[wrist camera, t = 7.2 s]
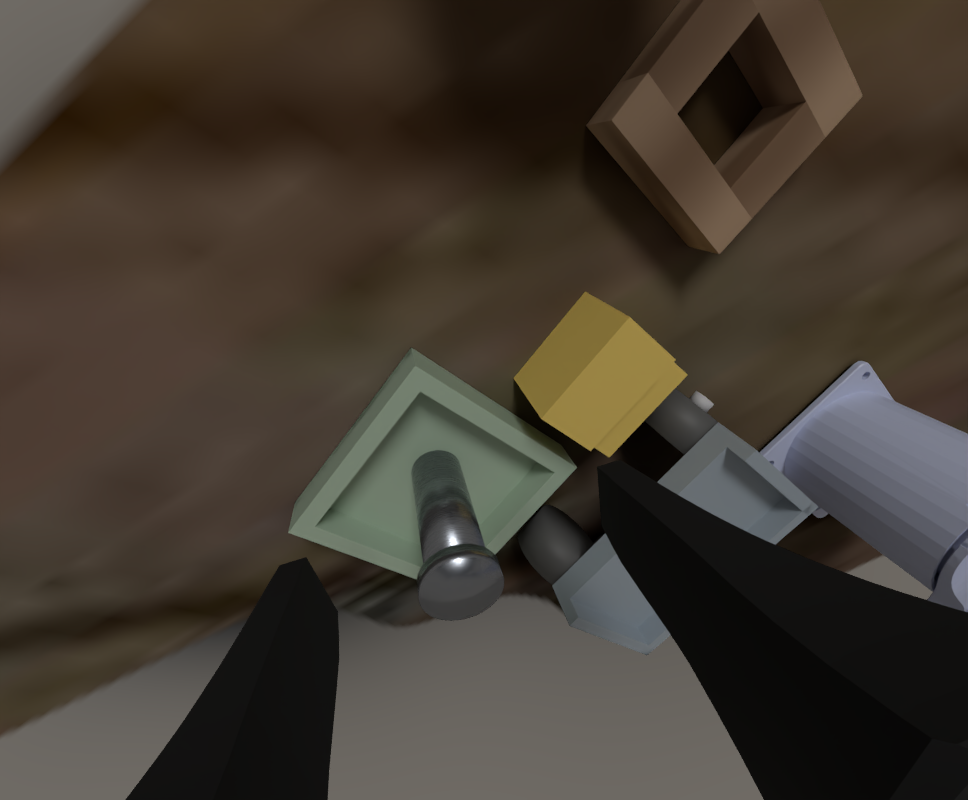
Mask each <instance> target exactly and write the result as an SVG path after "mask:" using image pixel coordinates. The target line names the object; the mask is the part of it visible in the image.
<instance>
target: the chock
mask: <svg viewBox="0 0 968 800" xmlns="http://www.w3.org/2000/svg"><path fill="white" fill-rule="evenodd" d="M675 360H676V359H674V358H673V357H672V356H671V355H670V354H669V353H668V352H667V351H666V350H665V349H664V348H663V347H662V346H660V345H659V344H658V343H657V342H656V341H655V340H654V339H653V338H652V337H651V336H650V335H649V334H647V333H646V332H645V331H644V330H643V329H642V328H641V327H640V326H639V325H638V324H637V323H636V322H634V321H633V320H632V319H631V318H630V317H629V316H627V315H625V314H623V313H622V312H620V311H618V310H616V309H615V308H613V307H611V306H609V305H608V304H606V303H604V302H602V301H601V300H599V299H597V298H595V297H594V296H592V295H590V294H588V293H587V292H584V294H583V295H582V296H581V297H580V299H579V300H578V301H577V302H576V303H575V305H574V306H573V307H572V308H571V309H570V311H569V312H568V313H567V314H566V316H565V317H564V318H563V319H562V320H561V322H560V323H559V324H558V325H557V326H556V328H555V329H554V330H553V331H552V332H551V334H550V335H549V336H548V337H547V339H546V340H545V341H544V342H543V343H542V345H541V346H540V347H539V348H538V349H537V351H536V352H535V353H534V354H533V355H532V357H531V358H530V359H529V360H528V362H527V363H526V364H525V365H524V366H523V368H522V369H521V370H520V371H519V372H518V374H517V375H516V376H515V377H514V380H515V381H516V383H517V384H518V386H519V387H520V389H521V390H522V391H523V393H524V394H525V396H526V397H527V399H528V400H529V402H530V403H531V405H532V406H533V408H534V409H535V411H536V412H537V413H538V415H539V416H540V418H541V419H542V420H544V421H545V422H547V423H548V424H550V425H551V426H553V427H554V428H556V429H557V430H559V431H560V432H562V433H563V434H565V435H567V436H568V437H570V438H571V439H573V440H574V441H576V442H577V443H579V444H580V445H582V446H583V447H585V448H586V449H588V450H589V451H591V450H592V449H593V448H596V449H597V450H599V451H600V452H602V453H603V454H605V455H606V456H608V457H610V456H611V455H612V454H613V453H614V452H615V451H616V450H617V449H618V448H619V447H620V446H621V445H622V444H623V443H624V442H625V441H626V439H627V438H628V437H629V436H630V435H631V434H632V433H633V432H634V431H635V430H636V429H637V428H638V427H639V426H640V425H641V424H642V423H643V422H644V420H645V419H646V418H647V417H648V416H649V415H650V414H651V413H652V412H653V411H654V410H655V409H656V408H657V407H658V406H659V405H660V404H661V403H662V401H663V400H664V399H665V398H666V397H667V396H668V395H669V394H670V393H671V392H672V391H673V390H674V389H675V388H676V387H677V386H678V385H679V384H680V383H681V381H682V380H683V379H684V378H685V377H686V376H687V374H686V373H685V372H684V371H683V370H682V369H681V368H680V367H679V366H677V365H676V364H675V363H674V361H675Z"/></svg>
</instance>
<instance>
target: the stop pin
mask: <svg viewBox="0 0 968 800" xmlns="http://www.w3.org/2000/svg"><path fill="white" fill-rule="evenodd" d="M411 475H412V483H413V490H414V498H415V506H416V513H417V521H418V528H419V536H420V543H421V551H422V558H423V565H422V566H421V568H420V570H419V572H418V576H417V587H418V596H419V603H420V606H421V607H422V609H423V610H424V611H425V612H426V613H427V614H428V615H430V616H432V617H434V618H437V619H441V620H450V621H452V620H461V619H466V618H470V617H473V616H475V615H478V614H480V613H481V612H483V611H485V610H486V609H488V608H489V607H491V606H492V605H493V604H494V603H495V602H496V601H497V599H498V598H499V597H500V595H501V593H502V591H503V587H504V578H503V574H502V571H501V568H500V565H499V562H498V559H497V557H496V556H495V554H494V553H493V552H492V551H490V550H489V549H487V548H486V547H485V544H484V541H483V538H482V534H481V531H480V528H479V525H478V521H477V518H476V515H475V511H474V508H473V505H472V501H471V498H470V495H469V492H468V488H467V485H466V482H465V478H464V475H463V472H462V469H461V465H460V462H459V460H458V459H457V457H456V456H455V455H453V454H452V453H450V452H447V451H443V450H435V451H430V452H427V453H425V454H423V455H422V456H420V457H419V458H418V459H417V460H416V461H415V463H414V464H413V467H412V470H411Z"/></svg>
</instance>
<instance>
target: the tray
mask: <svg viewBox="0 0 968 800" xmlns="http://www.w3.org/2000/svg"><path fill="white" fill-rule="evenodd" d="M435 450H443V451H447V452H450V453H452V454H453V455H455V456H456V457H457V459H458V460H459V462H460V465H461V469H462V472H463V475H464V478H465V482H466V485H467V488H468V492H469V495H470V498H471V501H472V505H473V508H474V511H475V515H476V518H477V521H478V525H479V528H480V531H481V534H482V538H483V541H484V544H485V547H486V548H487V549H489V550H490V551H492V552H493V553H494V554H496V553H497V552H498V551H499V550H500V549H501V548H502V547H503V546H504V545H505V544H506V543H507V541H508V540H509V539H510V538H511V537H512V536H513V535H514V534H515V533H516V532H517V531H518V530H519V529H520V528H521V527H522V526H523V525H524V523H525V522H526V521H527V520H528V519H529V518H530V517H531V516H532V515H533V514H534V513H535V512H536V511H537V510H538V509H539V508H540V506H541V505H542V504H543V503H544V502H545V501H546V500H547V499H548V498H549V497H550V496H551V495H552V494H553V493H554V492H555V491H556V489H557V488H558V487H559V486H560V485H561V484H562V483H563V482H564V481H565V480H566V479H567V478H568V477H569V476H570V475H571V474H572V472H573V471H574V470H575V469H576V468H577V467H576V465H575V464H574V463H573V461H572V460H571V458H570V457H569V455H568V454H567V452H566V451H565V450H564V448H563V447H562V445H560V444H559V443H557V442H556V441H554V440H553V439H551V438H550V437H548V436H547V435H545V434H544V433H542V432H540V431H539V430H537V429H536V428H534V427H533V426H531V425H530V424H528V423H527V422H525V421H524V420H522V419H520V418H519V417H517V416H516V415H514V414H513V413H511V412H510V411H508V410H507V409H505V408H504V407H502V406H500V405H499V404H497V403H496V402H494V401H493V400H491V399H490V398H488V397H487V396H485V395H484V394H482V393H480V392H479V391H477V390H476V389H474V388H473V387H471V386H470V385H468V384H467V383H465V382H464V381H462V380H460V379H459V378H457V377H456V376H454V375H453V374H451V373H450V372H448V371H447V370H445V369H444V368H442V367H440V366H439V365H437V364H436V363H434V362H433V361H431V360H430V359H428V358H427V357H425V356H424V355H422V354H420V353H419V352H417V351H416V350H414V349H413V348H411V349H410V350H409V351H408V353H407V354H406V355H405V357H404V358H403V359H402V361H401V362H400V363H399V365H398V366H397V367H396V369H395V370H394V371H393V373H392V374H391V375H390V377H389V378H388V379H387V381H386V382H385V383H384V385H383V386H382V387H381V389H380V390H379V391H378V393H377V394H376V395H375V397H374V398H373V399H372V401H371V402H370V403H369V405H368V406H367V407H366V409H365V410H364V411H363V413H362V414H361V415H360V417H359V418H358V419H357V421H356V422H355V423H354V425H353V426H352V427H351V429H350V430H349V431H348V433H347V434H346V435H345V437H344V438H343V439H342V441H341V442H340V443H339V445H338V446H337V447H336V449H335V450H334V451H333V453H332V454H331V455H330V457H329V458H328V459H327V461H326V462H325V463H324V465H323V466H322V467H321V469H320V470H319V471H318V473H317V474H316V475H315V477H314V478H313V479H312V481H311V482H310V483H309V485H308V486H307V487H306V489H305V490H304V491H303V493H302V494H301V495H300V497H299V498H298V499H297V501H296V502H295V505H294V510H293V514H292V518H291V523H290V527H289V531H288V533H291V534H293V535H296V536H299V537H302V538H304V539H307V540H310V541H313V542H315V543H318V544H321V545H324V546H326V547H329V548H332V549H335V550H337V551H340V552H343V553H346V554H348V555H351V556H354V557H357V558H359V559H362V560H365V561H368V562H370V563H373V564H376V565H379V566H381V567H384V568H387V569H390V570H392V571H395V572H398V573H401V574H403V575H406V576H409V577H412V578H414V579H417V576H418V572H419V570H420V568H421V566H422V565H423V558H422V551H421V543H420V536H419V528H418V521H417V513H416V506H415V498H414V490H413V483H412V475H411V470H412V467H413V464H414V463H415V461H416V460H417V459H418V458H419V457H420V456H422V455H423V454H425V453H427V452H430V451H435Z"/></svg>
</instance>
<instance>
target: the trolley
mask: <svg viewBox="0 0 968 800" xmlns="http://www.w3.org/2000/svg"><path fill="white" fill-rule="evenodd" d="M713 405H714V404H713V403H712V402H711V401H710V400H709V399H707V398H706V397H705V396H703V395H702V394H701V393H699V392H698V391H696V392H695V393H694V394H693V395H692V396H691V397H690V398H687V397H686V396H685V395H683V394H682V393H681V392H680V391H678V390H677V389H674V390H673V391H672V392H671V393H670V394H669V395H668V396H667V397H666V398H665V399H664V400H663V401H662V403H661V404H660V405H659V406H658V407H657V408H656V409H655V410H654V411H653V412H652V413H651V414H650V415H649V416H648V417H647V418H646V419H645V420H644V421H645V422H647V423H648V424H649V425H650V426H651V427H652V428H653V429H654V430H656V431H657V432H658V433H659V434H660V435H661V436H663V437H664V438H665V439H666V440H667V441H668V442H670V443H671V444H672V445H673V446H674V447H676V448H677V449H678V450H679V451H680V452H682V453H683V454H684V456H683V457H682V458H681V459H680V460H679V461H678V462H677V463H676V464H675V465H674V466H673V467H672V468H671V469H670V470H669V471H668V472H667V473H666V474H665V475H664V476H663V477H662V478H661V479H660V480H659V481H658V482H657V483H659V484H661V485H662V486H664V487H666V488H667V489H669V490H671V491H672V492H674V493H676V494H677V495H679V496H681V497H683V498H684V499H686V500H688V501H690V502H692V503H693V504H695V505H697V506H699V507H700V508H702V509H704V510H706V511H708V512H709V513H711V514H713V515H715V516H717V517H719V518H721V519H723V520H725V521H727V522H729V523H731V524H733V525H735V526H737V527H739V528H741V529H743V530H745V531H747V532H749V533H751V534H753V535H755V536H757V537H759V538H761V539H764V540H766V541H768V542H770V543H773V544H777V543H778V542H779V541H780V540H781V539H782V538H783V537H785V536H786V535H787V534H788V533H789V532H790V531H792V530H793V529H794V528H795V527H796V526H797V525H799V524H800V523H801V522H802V521H803V520H804V519H805V518H807V517H808V516H809V515H810V514H811V513H812V512H814V511H815V510H816V509H817V508H818V506H817V505H816V504H815V503H814V502H813V501H811V500H810V499H809V498H808V497H807V496H806V495H805V494H804V493H803V492H802V491H801V490H799V489H798V488H797V487H796V486H795V485H794V484H793V483H792V482H791V481H790V480H789V479H787V478H786V477H785V476H784V475H783V474H782V473H781V472H780V471H779V470H778V469H777V468H775V467H774V466H773V465H772V464H771V463H770V462H769V461H768V460H767V459H766V458H765V457H763V456H762V455H761V454H760V453H759V452H758V451H757V450H756V449H754V448H753V447H752V446H750V445H749V444H747V443H746V442H745V441H743V440H742V439H741V438H739V437H738V436H736V435H735V434H734V433H732V432H731V431H730V430H728V429H727V428H725V427H724V426H723V425H721V424H720V423H719V422H717V421H716V420H715V419H713V418H712V417H711V416H710V415H709V414H707V413H706V412H707V411H708V410H709V409H710V408H711V407H712V406H713ZM518 541H519V545H520V547H521V550H522V552H523V553H524V555H525V557H526V558H527V560H528V561H529V563H530V564H531V565H532V566H533V568H534V569H535V570H536V571H537V572H538V573H539V574H540V575H541V576H542V577H543V578H544V579H545V580H547V581H548V582H549V583H550V584H552V587H553V589H554V591H555V594H556V596H557V598H558V600H559V603H560V605H561V607H562V610H563V612H564V614H565V617H566V619H567V621H568V623H569V625H570V626H571V627H574V628H577V629H580V630H582V631H585V632H587V633H590V634H592V635H595V636H598V637H601V638H603V639H606V640H608V641H611V642H614V643H616V644H619V645H622V646H624V647H627V648H629V649H632V650H635V651H637V652H640V653H643V654H645V655H648V654H649V653H650V652H651V651H652V650H654V649H655V648H656V647H657V646H658V645H659V644H661V643H662V642H663V641H664V640H665V639H666V638H668V637H669V636H670V633H669V632H668V630H667V629H666V627H665V626H664V624H663V623H662V622H661V620H660V619H659V617H658V616H657V614H656V613H655V611H654V610H653V608H652V607H651V606H650V604H649V603H648V601H647V600H646V598H645V597H644V595H643V594H642V593H641V591H640V590H639V588H638V587H637V585H636V584H635V582H634V581H633V579H632V578H631V576H630V575H629V573H628V572H627V571H626V569H625V568H624V566H623V565H622V563H621V562H620V560H619V558H618V556H617V554H616V552H615V550H614V549H613V547H612V545H611V543H610V541H609V539H608V537H607V535H606V533H605V534H604V535H600V536H599V537H598V538H597V539H596V540H595V541H594V542H592V541H591V539H590V538H589V536H588V535H587V534H586V533H585V532H584V530H583V529H582V528H581V527H580V526H579V525H578V524H577V523H576V522H575V521H574V520H573V519H571V518H570V517H569V516H568V515H566V514H565V513H564V512H562V511H561V510H559V509H558V508H556V507H553V506H551V505H544V506H543V507H542V508H541V509H540V510H539V511H538V512H537V513H536V515H535V516H534V517H533V518H532V519H531V520H530V521H529V522H528V523H527V524H526V525H525V526H524V527H523V528H522V529H521V530H520V532H519V533H518Z"/></svg>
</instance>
